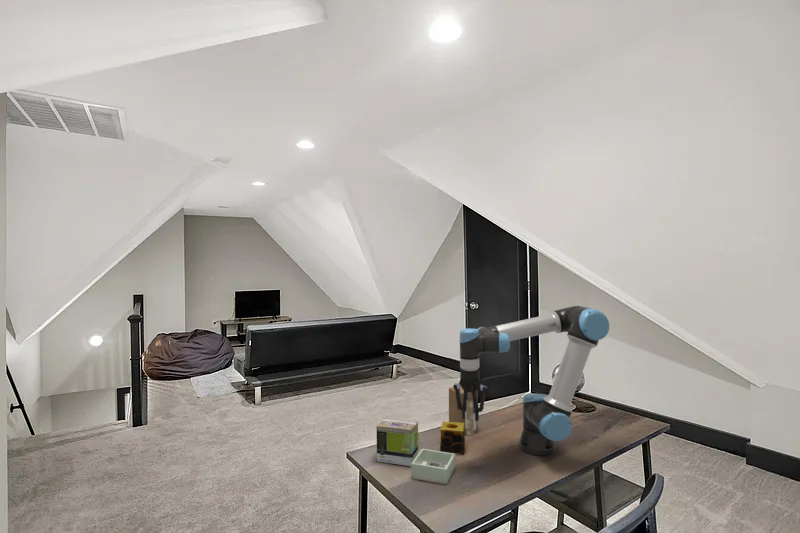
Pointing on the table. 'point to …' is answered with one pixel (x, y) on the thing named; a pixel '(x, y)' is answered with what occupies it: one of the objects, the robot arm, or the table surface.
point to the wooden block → (454, 412)
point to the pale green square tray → (433, 466)
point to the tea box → (397, 441)
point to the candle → (452, 437)
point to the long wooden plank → (470, 416)
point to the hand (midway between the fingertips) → (470, 427)
